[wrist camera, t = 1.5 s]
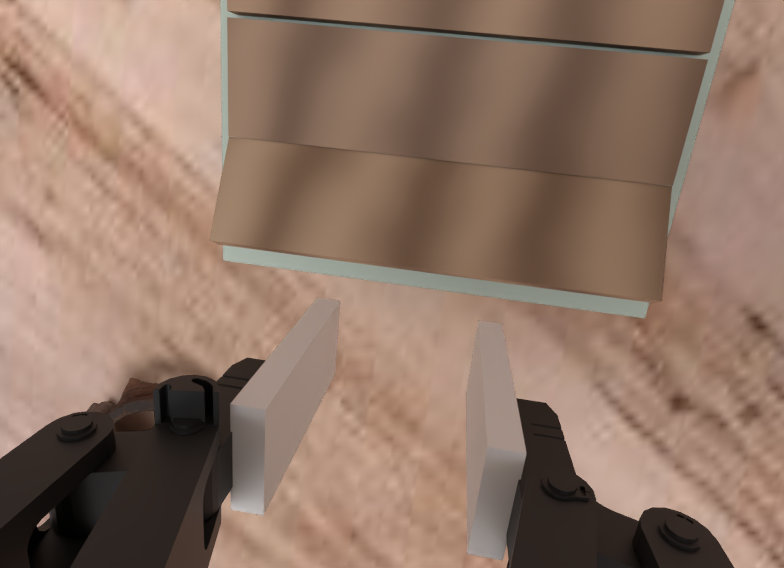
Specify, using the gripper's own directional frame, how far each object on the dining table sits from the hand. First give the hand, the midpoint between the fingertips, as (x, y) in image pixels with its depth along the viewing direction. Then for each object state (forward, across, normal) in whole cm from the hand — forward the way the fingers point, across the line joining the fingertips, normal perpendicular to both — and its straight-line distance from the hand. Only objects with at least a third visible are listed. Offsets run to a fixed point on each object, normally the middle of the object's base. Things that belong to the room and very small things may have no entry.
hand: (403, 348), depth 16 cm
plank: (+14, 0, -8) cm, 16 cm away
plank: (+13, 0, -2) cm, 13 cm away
